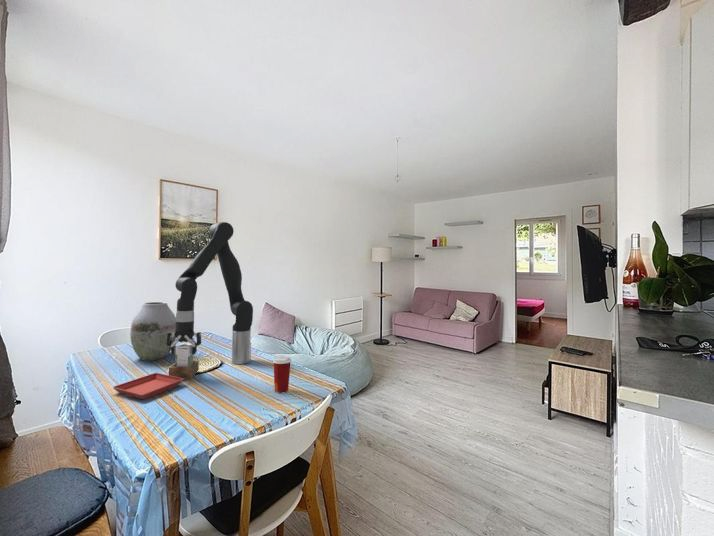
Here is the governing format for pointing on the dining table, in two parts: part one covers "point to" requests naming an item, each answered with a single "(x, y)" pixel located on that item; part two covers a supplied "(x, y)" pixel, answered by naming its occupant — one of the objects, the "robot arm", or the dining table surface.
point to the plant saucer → (148, 385)
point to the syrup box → (183, 355)
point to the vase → (152, 330)
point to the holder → (184, 370)
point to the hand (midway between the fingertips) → (183, 354)
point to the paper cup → (281, 373)
